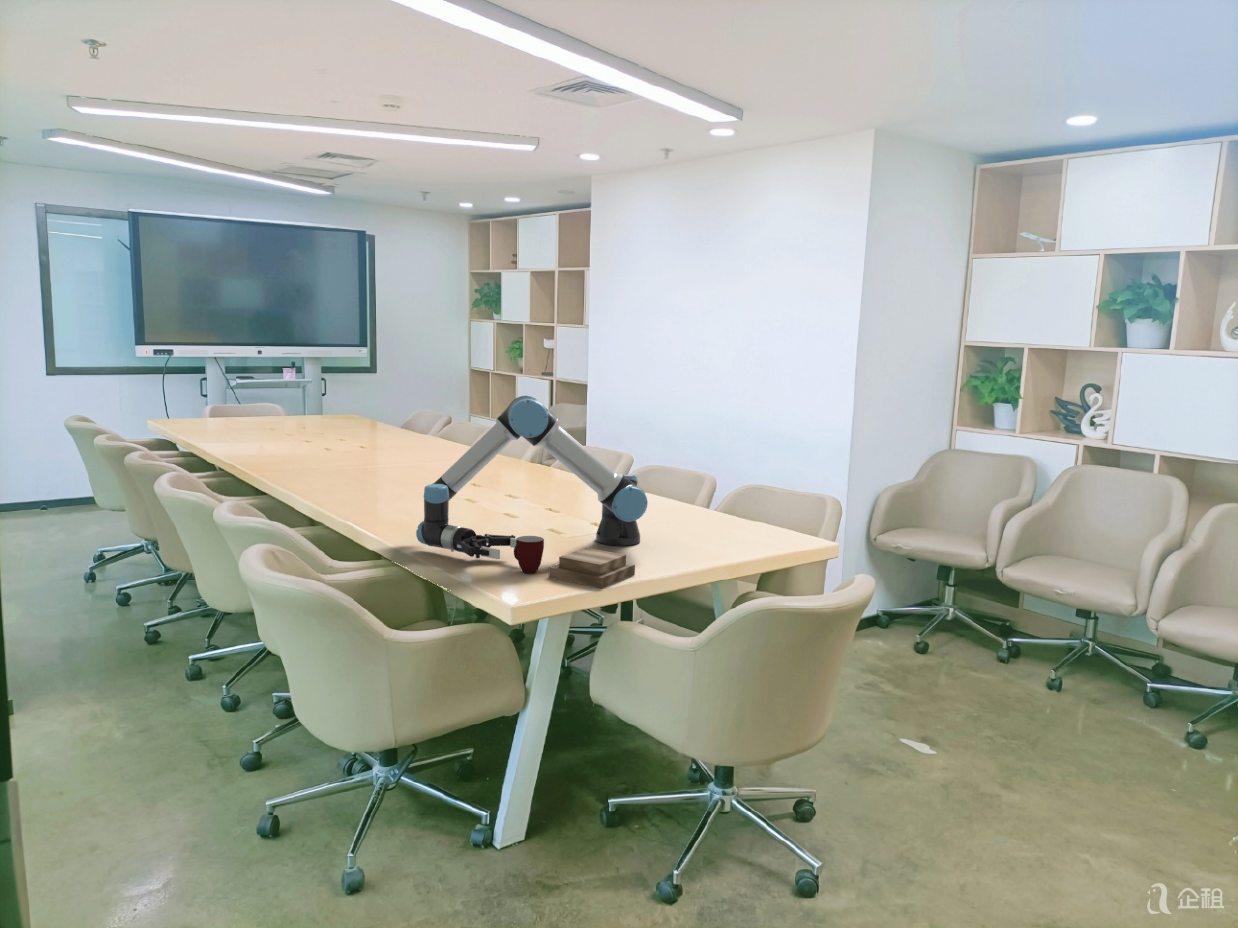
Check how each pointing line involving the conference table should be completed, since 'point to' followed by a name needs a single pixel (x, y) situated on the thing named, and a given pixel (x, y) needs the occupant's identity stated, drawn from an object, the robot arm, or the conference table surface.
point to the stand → (592, 568)
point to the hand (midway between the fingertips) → (514, 550)
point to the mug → (529, 553)
